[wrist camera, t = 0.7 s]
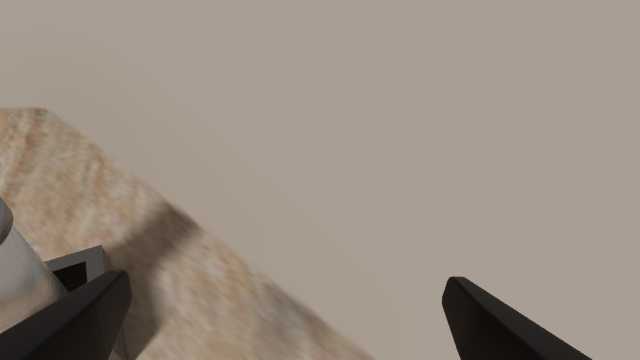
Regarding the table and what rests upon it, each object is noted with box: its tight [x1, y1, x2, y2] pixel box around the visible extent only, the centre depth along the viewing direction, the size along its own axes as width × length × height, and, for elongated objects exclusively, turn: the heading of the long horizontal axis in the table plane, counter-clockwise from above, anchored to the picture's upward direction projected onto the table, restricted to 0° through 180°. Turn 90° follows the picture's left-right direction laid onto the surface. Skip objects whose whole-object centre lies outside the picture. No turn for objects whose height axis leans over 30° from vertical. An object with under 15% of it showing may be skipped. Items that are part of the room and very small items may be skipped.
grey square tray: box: [44, 245, 127, 360], centre depth 20 cm, size 8×8×3 cm
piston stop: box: [0, 197, 69, 333], centre depth 17 cm, size 5×5×12 cm
